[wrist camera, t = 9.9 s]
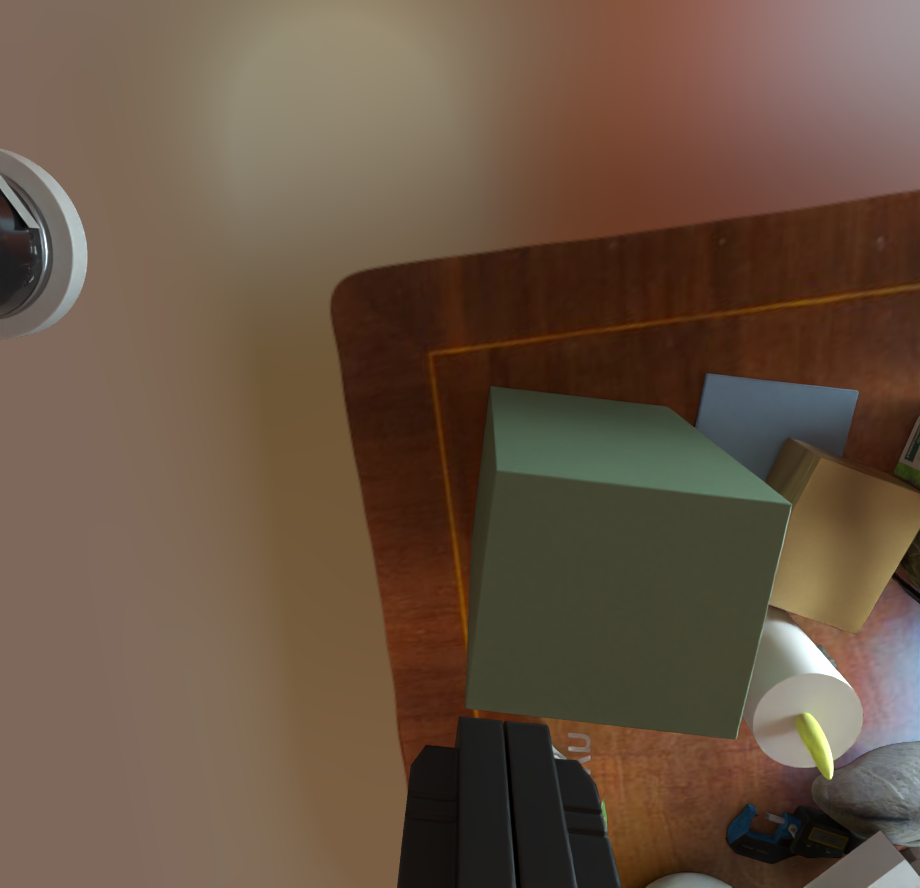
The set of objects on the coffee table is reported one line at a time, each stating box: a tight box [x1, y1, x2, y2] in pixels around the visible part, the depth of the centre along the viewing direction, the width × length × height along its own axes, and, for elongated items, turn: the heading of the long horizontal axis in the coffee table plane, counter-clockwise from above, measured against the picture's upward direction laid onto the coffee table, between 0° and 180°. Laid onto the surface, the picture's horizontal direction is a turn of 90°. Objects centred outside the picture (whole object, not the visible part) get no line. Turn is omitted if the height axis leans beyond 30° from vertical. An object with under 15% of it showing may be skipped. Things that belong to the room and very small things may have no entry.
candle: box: [742, 605, 864, 780], centre depth 45 cm, size 6×6×15 cm
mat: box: [695, 373, 859, 483], centre depth 49 cm, size 10×10×1 cm
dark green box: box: [465, 386, 792, 739], centre depth 40 cm, size 12×11×20 cm
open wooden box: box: [765, 437, 920, 635], centre depth 47 cm, size 8×10×5 cm
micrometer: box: [726, 804, 868, 864], centre depth 55 cm, size 12×2×5 cm
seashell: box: [811, 741, 920, 847], centre depth 52 cm, size 12×8×5 cm
